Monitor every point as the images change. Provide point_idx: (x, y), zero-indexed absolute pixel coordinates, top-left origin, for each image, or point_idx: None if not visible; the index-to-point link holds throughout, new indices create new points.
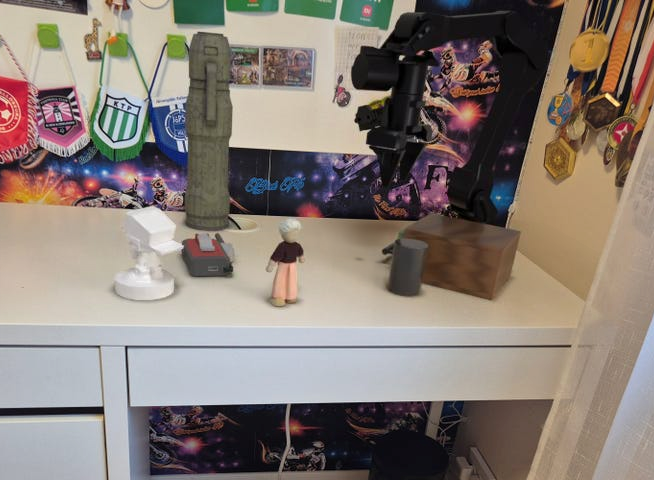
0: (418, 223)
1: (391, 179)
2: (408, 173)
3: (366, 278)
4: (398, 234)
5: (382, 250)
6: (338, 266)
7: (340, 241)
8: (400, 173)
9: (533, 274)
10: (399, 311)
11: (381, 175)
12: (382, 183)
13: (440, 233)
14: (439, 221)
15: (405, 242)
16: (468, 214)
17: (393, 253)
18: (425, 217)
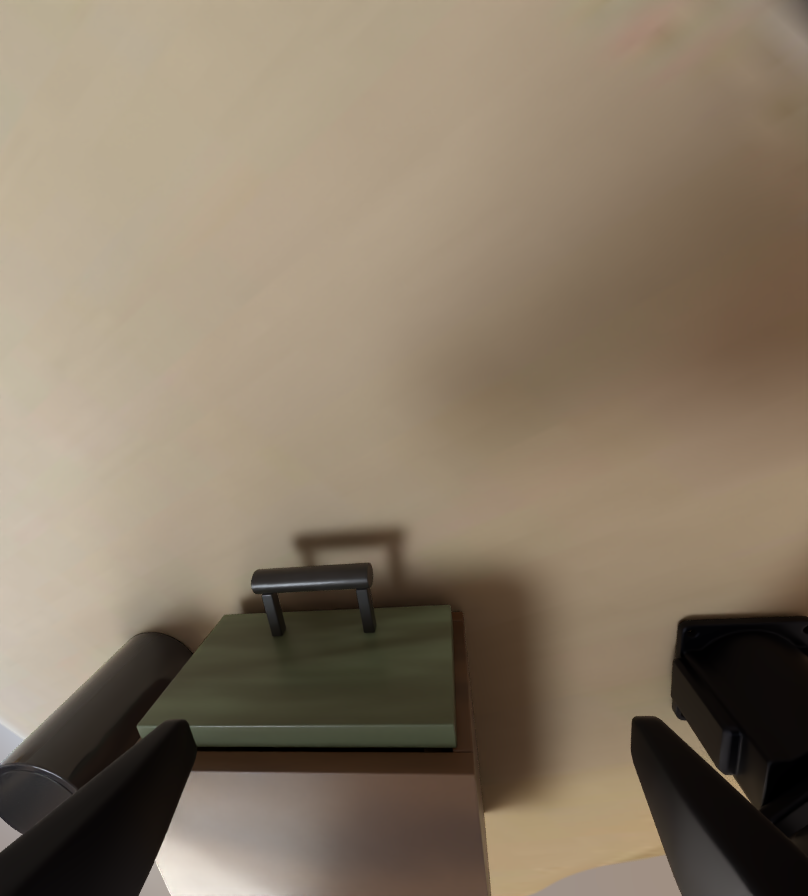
0: (235, 783)
1: (147, 854)
2: (675, 871)
3: (146, 569)
4: (145, 715)
5: (253, 574)
6: (150, 466)
7: (390, 307)
8: (663, 782)
9: (562, 848)
10: (56, 698)
11: (55, 820)
12: (144, 744)
13: (188, 865)
14: (352, 830)
15: (23, 793)
16: (801, 809)
17: (34, 731)
18: (361, 777)
